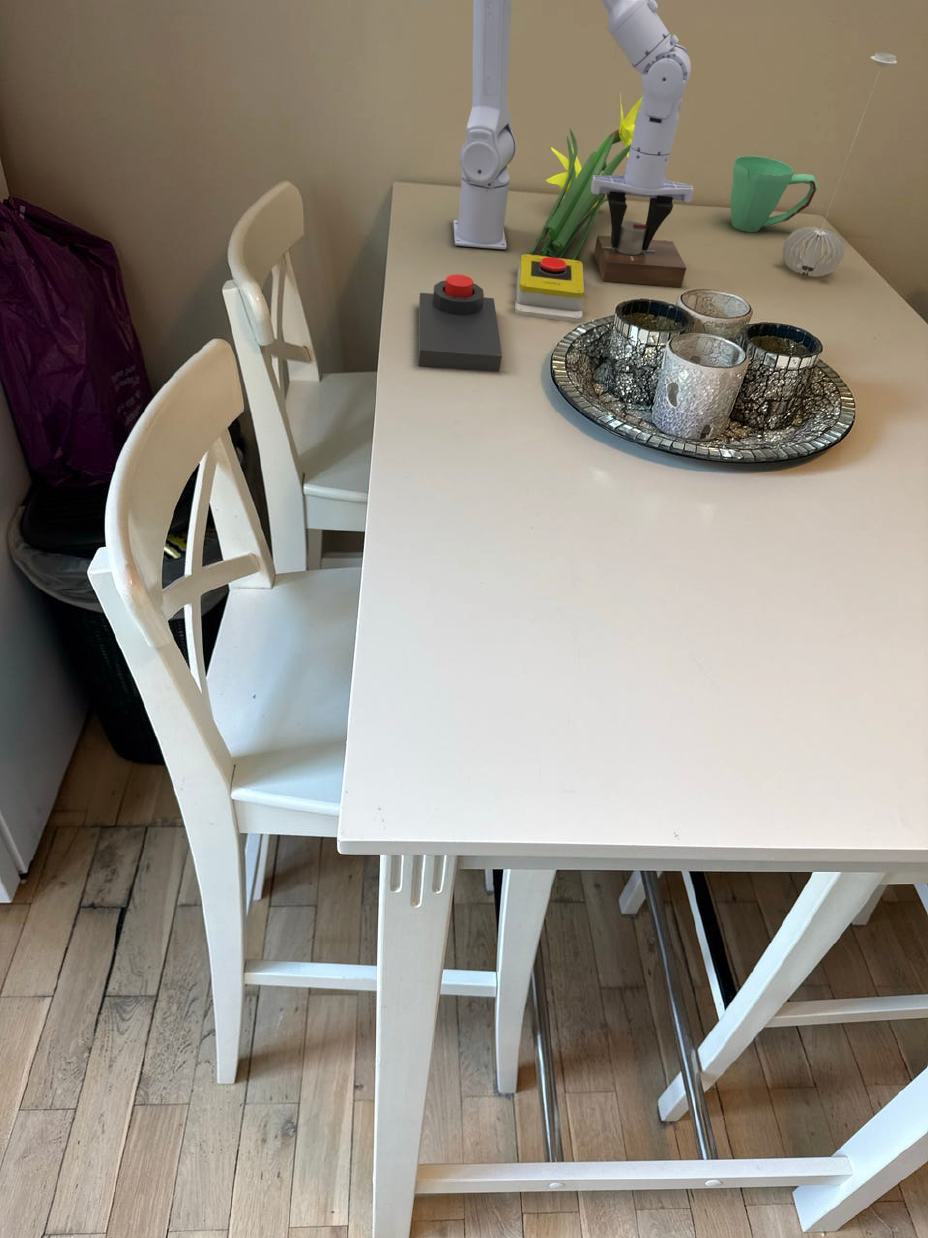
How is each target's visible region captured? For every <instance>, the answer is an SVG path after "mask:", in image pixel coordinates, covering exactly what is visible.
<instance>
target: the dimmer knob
mask: <svg viewBox="0 0 928 1238" xmlns="http://www.w3.org/2000/svg"><path fill="white" fill-rule="evenodd" d="M646 230H647V225H646V223H645V224H644V223H642V222H638V221H635V220H623V221H622V225H621V230H620V237H619V243H618V246H617V248H615V249H616V250H617V251H619V252H621V253H624V254H628V255H637V254H640V253H641V251H642V247H643V243H644V238H645V234H646Z"/></svg>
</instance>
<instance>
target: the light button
mask: <svg viewBox="0 0 928 1238" xmlns="http://www.w3.org/2000/svg"><path fill="white" fill-rule="evenodd" d="M445 281H446V285H445V293H446V294H447V295H450V296H453V297H463V298H465V297H470V296H472V292H473V283H474V280H473V278H471V277H470V276H468V275H465V274H464V275H463V274H451V275H448V276H446V278H445Z"/></svg>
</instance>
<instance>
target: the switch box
mask: <svg viewBox="0 0 928 1238" xmlns="http://www.w3.org/2000/svg"><path fill="white" fill-rule="evenodd" d="M445 285H446V280H440V281H439V282H437V283H436V284H434V286H433V293H431V292H430V293H429V292H419V298H418V299H419V300H418V301H419V302H418V367H423V368H424V367H425V368H442V369H454V370H469V371H483V372H496V373H497V372H499V373H500V371H501V366H502V365H501V364H502V357H503V355H502V349H501V340H500V333H499V327H498V318H497V311H496V305H495V304H496V303H495V298H493V297H485V296H484V295H485V293H484V289H483V288H482V287H480V286H479V285H478V284H477V283H474V282H473V292H472V296H470V297H465V298H463V297H453V296H450V295H447V294H446V293H445Z"/></svg>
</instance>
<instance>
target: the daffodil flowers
mask: <svg viewBox="0 0 928 1238" xmlns="http://www.w3.org/2000/svg"><path fill="white" fill-rule="evenodd" d="M619 96H620V98H619V100H620V102H622V93H620V95H619ZM642 97H643V96H641V97H640V98H639V99H638V100H637V101H636V102H635V104H634V105H633V106H632V107H631V109H630V110H629V112H628V113H627V115H626V116H625V117H624V110H623V105H622V104H620V122H619V129H616V130H614V131H613V132H612V133H611V134H609V135H608V136H607V138H606V139H604V141H603V142H602V143H601V145H600V146H599V147H598V150H597V151H592V152H591V153H590V154H589V156H588V158H587V159H586V161H585V163H584V164H583V166H582V164H581V162H580V159H579V158H578V141H577V139H576V136H575V134H574V133H573V130H572V129H571V128H569V133H570V138H571V141H570V139H569V136H568V135H567V136H566V144H567V150H568V158H567V157H566V156H565V155H563V154H562V153H561V152H559V150H556V148H554V147H550V149H551V151H552V152H553V153H554V154H555V155H556V156H557V158H558V160H559V162H560V163H561V164H562V166H563V167H564V169H565V170H566V171H563V172H561V173H558V174H554V175H553V176H550V177H549V178H547V179H546V180H545V181H546V182H547V183H548V184H553V185H557V186H558V187H559V190H561V191H560V193H559V195H558V197H557V199H556V201H555V203H554V205H553V207H552V209H551V211H550V213H549V216H548V217H547V219H546V222H545V223H544V225H543V228H542V229H541V232H540V233H539V235H538V237H537V239H536V241H535V242H534V245H533V246H532V248H531V250H530V252H529V253H528V254H529V255H534V253H535V251H536V249H537V248H538V246H539V244H540V243H543V241H544V240H545V239H546V237H547V235H548V236H549V237H548V238H547V240H546V241H545V244H544V245H543V247H542V248H541V251H540V253H539V254H540V256H545V257H553V258H561V259H562V258H563V256H564V254H565V253H566V251H567V249H568V248H569V246H570V244H571V243H572V241H573V240H574V239H575V237H576V236H577V235H578V233H579V232H580V231H581V229H582V227H583V226H584V225H585V224H586V223H587V221H588V223H587V224H586V226H585V228H584V231H583V233H582V235H581V237H580V240H579V242H578V244H577V246H576V248H575V250H574V252H573V254H572V256H571V258H570V260H576V258H577V257H578V254H579V252H580V251H581V248H582V247H583V244H584V242H585V240H586V238H587V236H588V234H589V231H590V229H591V227H592V225H593V222H594V221H595V218H596V216H597V214H598V213H599V212H600V207H601V206H602V205H603V204H604V203H606V202H608V198H607V197H606V195H607V193H599V194H592V192H591V184H592V178H593V175H598V176H612V175H613V174H614V172H615V170H616V169H617V168H618V167H619V165H620V164H621V163H622V161H623V160H624V159H625V158H626V157H627V158H628V156H629V151H630V146H631V142H632V137H633V132H634V127H635V123H636V118H637V113H638V109H639V108H640V106H641V101H642ZM571 142H572V143H571ZM620 142H621V143H622V144H623V146H624V148H623V149H622V150H621V151H620V152H619V153H617V154H616V155H615V156H614V157H613V158H612V159H611V160H610V162H609V163H608V164H607V159H608V157H609V154H610V152H611V149H612V146H613V145H614V144H617V143H620Z"/></svg>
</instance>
